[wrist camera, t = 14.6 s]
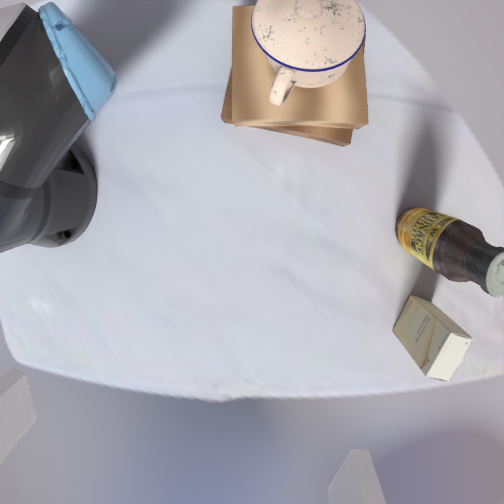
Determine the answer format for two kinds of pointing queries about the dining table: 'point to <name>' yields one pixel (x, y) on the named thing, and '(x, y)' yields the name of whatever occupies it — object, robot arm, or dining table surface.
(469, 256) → the sauce bottle
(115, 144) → the dining table surface
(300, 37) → the teacup with lid
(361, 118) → the tower top block
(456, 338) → the skincare box
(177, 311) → the dining table surface
